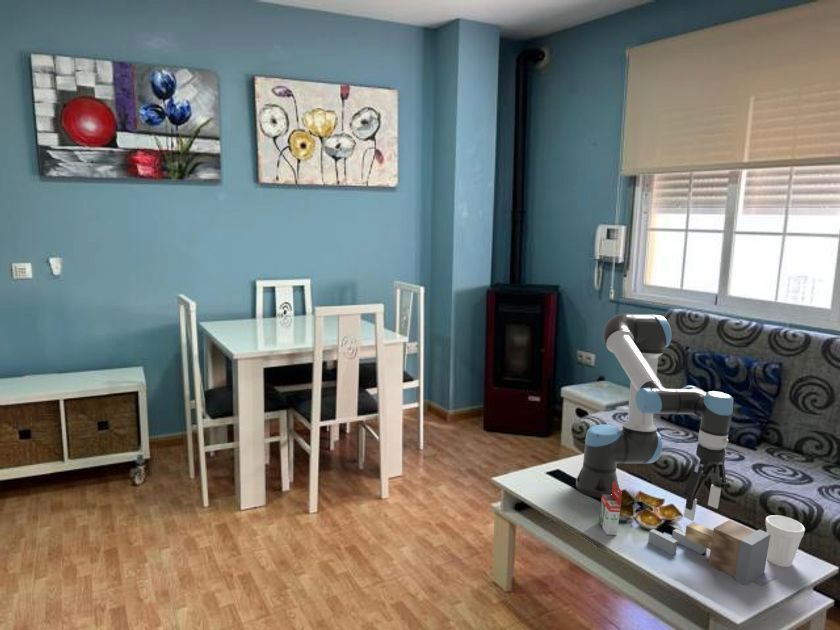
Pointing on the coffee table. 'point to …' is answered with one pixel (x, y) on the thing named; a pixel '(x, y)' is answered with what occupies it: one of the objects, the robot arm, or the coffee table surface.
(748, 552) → the base
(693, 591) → the coffee table surface
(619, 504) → the ink box
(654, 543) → the pedestal
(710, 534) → the bar
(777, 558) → the cup
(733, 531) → the block
